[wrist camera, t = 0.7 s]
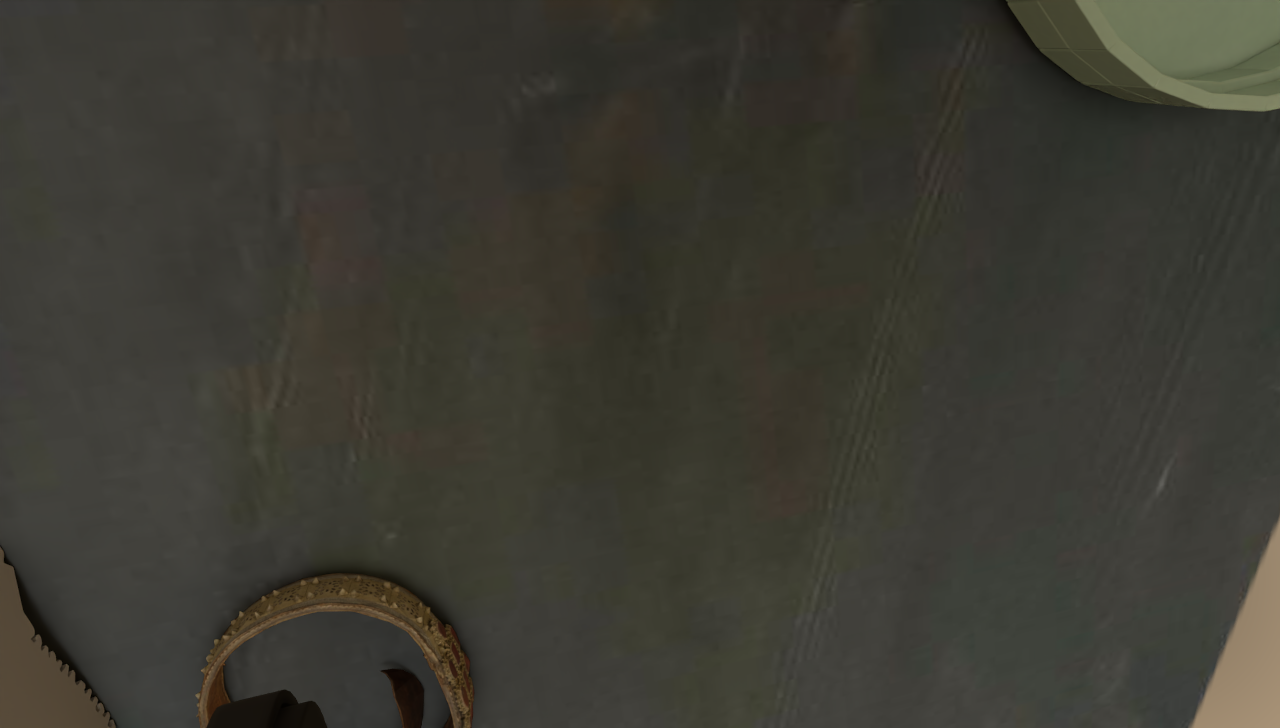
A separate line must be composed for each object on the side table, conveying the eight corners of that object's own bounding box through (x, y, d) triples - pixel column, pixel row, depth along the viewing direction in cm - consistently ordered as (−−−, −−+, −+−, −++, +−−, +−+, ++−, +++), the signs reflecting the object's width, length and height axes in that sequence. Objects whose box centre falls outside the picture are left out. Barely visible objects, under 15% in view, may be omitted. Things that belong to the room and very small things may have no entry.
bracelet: (336, 834, 34) (321, 905, 31) (143, 678, 31) (108, 741, 28) (531, 688, 33) (533, 748, 30) (351, 514, 30) (335, 562, 27)
